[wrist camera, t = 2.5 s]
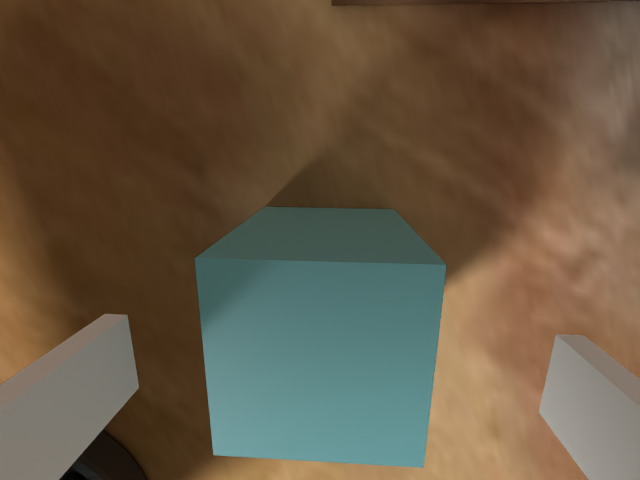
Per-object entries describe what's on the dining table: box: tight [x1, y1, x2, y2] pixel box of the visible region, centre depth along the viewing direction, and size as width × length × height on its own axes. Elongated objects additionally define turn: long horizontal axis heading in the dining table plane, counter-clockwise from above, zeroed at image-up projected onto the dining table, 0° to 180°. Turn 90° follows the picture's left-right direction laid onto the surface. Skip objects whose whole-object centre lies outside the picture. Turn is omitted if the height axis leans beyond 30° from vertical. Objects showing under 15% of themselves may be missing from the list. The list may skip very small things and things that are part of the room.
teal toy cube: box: [195, 207, 447, 468], centre depth 14 cm, size 7×7×9 cm
